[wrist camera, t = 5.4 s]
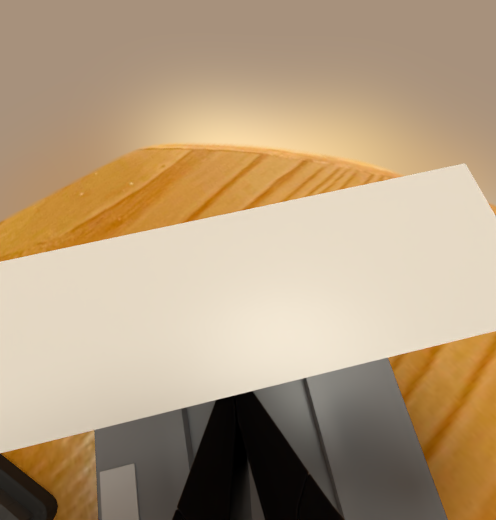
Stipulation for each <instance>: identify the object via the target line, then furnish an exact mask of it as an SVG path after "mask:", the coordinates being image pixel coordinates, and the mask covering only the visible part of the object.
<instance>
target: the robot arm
mask: <svg viewBox="0 0 496 520" xmlns="http://www.w3.org/2000/svg"><path fill="white" fill-rule="evenodd" d="M248 461H249V464H248ZM249 465H250V468H251V472H252V476H253V479H254V483H255V486H256V490H257V493H258V497H259V500H260V504H261V507H262V511H263V514H264V518H265V520H345V519H344V518H343V517H342V515H341V514H340V513H339V512H338V511H337V509H336V508H335V507H334V506H333V504H332V503H331V502H330V500H329V499H328V498H327V496H326V495H325V493H324V492H323V491H322V489H321V488H320V487H319V485H318V484H317V482H316V481H315V480H314V478H313V477H312V475H311V474H309V471H308V470H307V468H306V467H305V465H304V464H303V462H302V461H301V460H300V458H299V457H298V455H297V454H296V452H295V451H294V450H293V448H292V447H291V445H290V444H289V442H288V441H287V439H286V438H285V437H284V435H283V434H282V432H281V431H280V429H279V428H278V426H277V425H276V424H275V422H274V421H273V419H272V418H271V416H270V415H269V413H268V412H267V411H266V409H265V408H264V406H263V405H262V403H261V402H260V400H259V399H258V398H257V396H256V395H255V393H254V392H253V391H250V392H246V393H242V394H238V395H234V396H230V397H226V398H222V399H218V400H216V401H215V403H214V406H213V409H212V412H211V414H210V417H209V420H208V423H207V425H206V428H205V431H204V433H203V436H202V439H201V442H200V444H199V447H198V450H197V453H196V455H195V458H194V461H193V463H192V466H191V469H190V472H189V474H188V477H187V480H186V483H185V485H184V488H183V491H182V493H181V496H180V499H179V502H178V504H177V509H178V510H175V512H174V515H173V518H172V520H252V512H251V495H250V478H249Z"/></svg>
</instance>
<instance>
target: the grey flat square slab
mask: <svg viewBox="0 0 496 520" xmlns="http://www.w3.org/2000/svg"><path fill="white" fill-rule="evenodd" d="M253 392H254V393H255V395H256V396H257V398H258V399H259V400H260V402H261V403H262V405H263V406H264V408H265V409H266V411H267V412H268V413H269V415H270V416H271V418H272V419H273V421H274V422H275V424H276V425H277V426H278V428H279V429H280V431H281V432H282V434H283V435H284V437H285V438H286V439H287V441H288V442H289V444H290V445H291V447H292V448H293V450H294V451H295V452H296V454H297V455H298V457H299V458H300V460H301V461H302V462H303V464H304V465H305V467H306V468H307V470H308V471H309V474H311V475H312V477H313V478H314V480H315V481H316V482H317V484H318V485H319V487H320V488H321V489H322V491H323V492H324V493H325V495H326V496H327V498H328V499H329V500H330V502H331V503H332V504H333V506H334V507H335V508H336V509H337V511H338V512H339V513H340V514H341V515H342V517H343V518H344V519H345V520H448V519H447V517H446V514H445V511H444V508H443V506H442V503H441V500H440V498H439V495H438V492H437V489H436V487H435V484H434V481H433V479H432V476H431V473H430V471H429V468H428V465H427V462H426V460H425V457H424V454H423V452H422V449H421V446H420V444H419V441H418V438H417V435H416V433H415V430H414V427H413V425H412V422H411V419H410V417H409V414H408V411H407V408H406V406H405V403H404V400H403V398H402V395H401V392H400V390H399V387H398V384H397V381H396V379H395V376H394V373H393V371H392V368H391V365H390V362H389V360H388V358H384V359H380V360H376V361H372V362H368V363H364V364H359V365H355V366H351V367H347V368H343V369H339V370H335V371H331V372H327V373H323V374H319V375H315V376H311V377H307V378H303V379H299V380H295V381H291V382H287V383H283V384H279V385H274V386H270V387H266V388H262V389H258V390H254V391H253ZM215 401H216V400H214V401H210V402H206V403H202V404H198V405H194V406H189V407H185V408H181V409H177V410H173V411H169V412H165V413H161V414H157V415H153V416H149V417H145V418H141V419H137V420H133V421H129V422H125V423H121V424H117V425H113V426H109V427H104V428H100V429H96V430H95V453H96V475H97V497H98V519H99V520H172V518H173V515H174V512H175V510H178V509H177V504H178V502H179V499H180V496H181V493H182V491H183V488H184V485H185V483H186V480H187V477H188V474H189V472H190V469H191V466H192V463H193V461H194V458H195V455H196V453H197V450H198V447H199V444H200V442H201V439H202V436H203V433H204V431H205V428H206V425H207V423H208V420H209V417H210V414H211V412H212V409H213V406H214V403H215ZM248 464H249V461H248ZM249 478H250V495H251V512H252V520H265V518H264V514H263V511H262V507H261V504H260V500H259V497H258V493H257V490H256V486H255V483H254V479H253V476H252V472H251V468H250V465H249Z"/></svg>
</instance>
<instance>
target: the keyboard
mask: <svg viewBox="0 0 496 520" xmlns="http://www.w3.org/2000/svg"><path fill="white" fill-rule="evenodd" d="M57 507H58V505H57V502H56V499H55V498H54V497H53V496H52V495H51V494H50V493H49V492H48V491H46V490H45V489H44V488H42V487H41V486H40V485H39V484H37V483H36V482H35V481H34V480H32V479H31V478H30V477H29V476H27V475H26V474H25V473H24V472H22V471H21V470H20V469H19V468H17V467H16V466H15V465H14V464H12V463H11V462H10V461H9V460H7V459H6V458H5V457H4V456H2V455H1V454H0V520H53V519H54V517H55V515H56V513H57Z"/></svg>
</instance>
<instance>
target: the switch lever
mask: <svg viewBox="0 0 496 520" xmlns="http://www.w3.org/2000/svg"><path fill="white" fill-rule="evenodd" d="M493 331H496V216H495V214H494V212H493V211H492V209H491V207H490V205H489V204H488V202H487V200H486V198H485V197H484V195H483V193H482V192H481V190H480V188H479V186H478V185H477V183H476V181H475V180H474V178H473V176H472V174H471V173H470V171H469V169H468V167H467V166H466V164H460V165H456V166H451V167H446V168H442V169H437V170H432V171H427V172H422V173H418V174H413V175H408V176H404V177H399V178H394V179H389V180H385V181H380V182H375V183H370V184H366V185H361V186H356V187H352V188H347V189H342V190H337V191H333V192H328V193H323V194H318V195H314V196H309V197H304V198H300V199H295V200H290V201H285V202H281V203H276V204H271V205H267V206H262V207H257V208H252V209H248V210H243V211H238V212H233V213H229V214H224V215H219V216H215V217H210V218H205V219H200V220H196V221H191V222H186V223H181V224H177V225H172V226H167V227H163V228H158V229H153V230H148V231H144V232H139V233H134V234H130V235H125V236H120V237H115V238H111V239H106V240H101V241H96V242H92V243H87V244H82V245H78V246H73V247H68V248H63V249H59V250H54V251H49V252H44V253H40V254H35V255H30V256H26V257H21V258H16V259H11V260H7V261H2V262H0V453H3V452H7V451H11V450H15V449H19V448H24V447H28V446H32V445H36V444H40V443H44V442H48V441H52V440H56V439H60V438H64V437H68V436H72V435H76V434H80V433H84V432H88V431H92V430H96V429H100V428H104V427H109V426H113V425H117V424H121V423H125V422H129V421H133V420H137V419H141V418H145V417H149V416H153V415H157V414H161V413H165V412H169V411H173V410H177V409H181V408H185V407H189V406H194V405H198V404H202V403H206V402H210V401H214V400H218V399H222V398H226V397H230V396H234V395H238V394H242V393H246V392H250V391H254V390H258V389H262V388H266V387H270V386H274V385H279V384H283V383H287V382H291V381H295V380H299V379H303V378H307V377H311V376H315V375H319V374H323V373H327V372H331V371H335V370H339V369H343V368H347V367H351V366H355V365H359V364H364V363H368V362H372V361H376V360H380V359H384V358H388V357H392V356H396V355H400V354H404V353H408V352H412V351H416V350H420V349H424V348H428V347H432V346H436V345H440V344H444V343H449V342H453V341H457V340H461V339H465V338H469V337H473V336H477V335H481V334H485V333H489V332H493Z"/></svg>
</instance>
